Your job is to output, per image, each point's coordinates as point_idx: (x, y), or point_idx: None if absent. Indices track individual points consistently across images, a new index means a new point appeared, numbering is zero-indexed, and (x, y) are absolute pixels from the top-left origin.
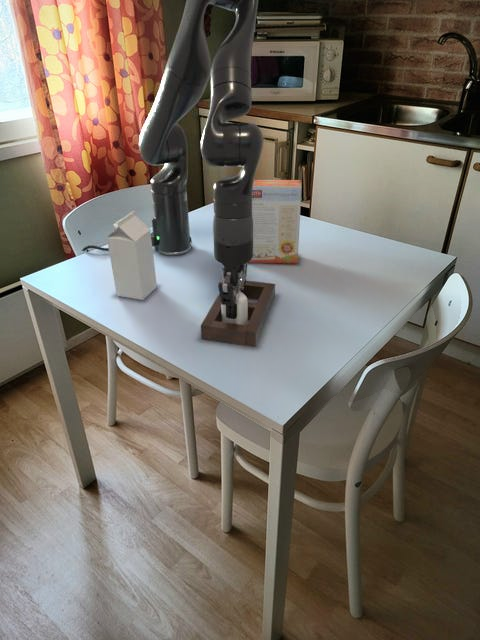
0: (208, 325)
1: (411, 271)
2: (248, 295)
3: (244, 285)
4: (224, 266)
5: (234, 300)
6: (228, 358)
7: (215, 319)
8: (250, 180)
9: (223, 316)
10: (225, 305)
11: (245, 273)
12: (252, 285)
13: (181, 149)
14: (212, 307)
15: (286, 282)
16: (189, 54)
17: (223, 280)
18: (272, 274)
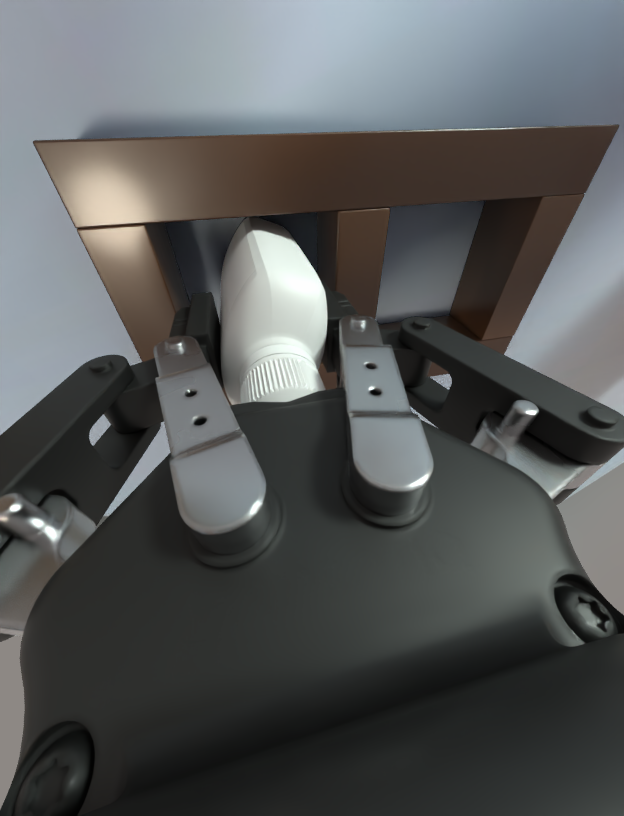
0: (73, 206)
1: None
2: (475, 260)
3: (515, 254)
4: (4, 809)
5: (149, 436)
6: (51, 329)
7: (170, 221)
8: None
9: (235, 247)
10: (228, 294)
11: (434, 419)
12: (504, 293)
13: None
14: (279, 146)
15: (544, 342)
16: None
17: (170, 445)
18: (613, 286)
